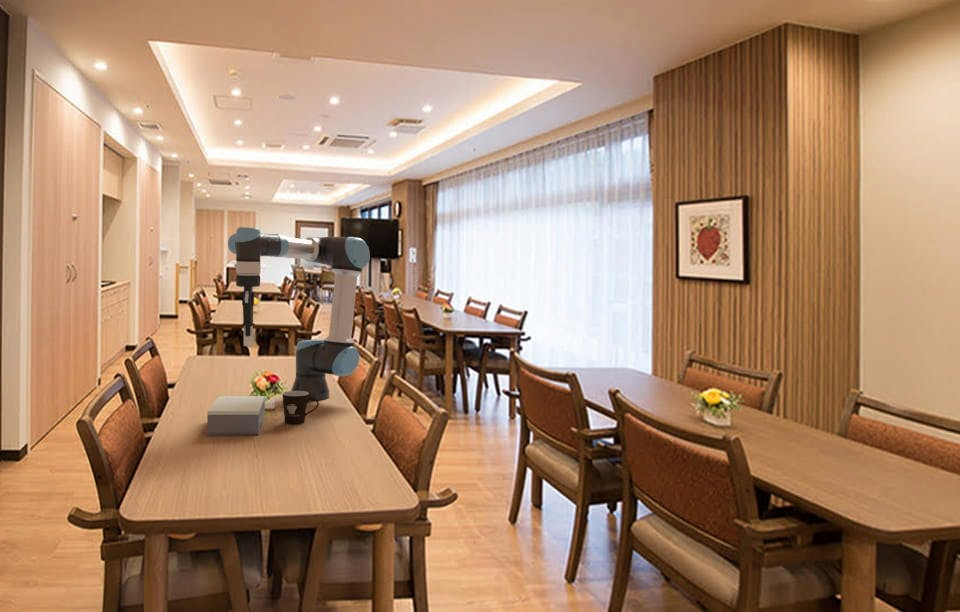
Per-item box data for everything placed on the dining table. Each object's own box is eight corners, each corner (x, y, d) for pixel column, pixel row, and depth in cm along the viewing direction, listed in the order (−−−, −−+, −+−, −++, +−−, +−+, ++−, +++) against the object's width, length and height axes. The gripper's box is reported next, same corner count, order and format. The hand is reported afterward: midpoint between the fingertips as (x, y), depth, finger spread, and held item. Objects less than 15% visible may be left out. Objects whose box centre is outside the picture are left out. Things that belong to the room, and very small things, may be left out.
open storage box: (264, 418, 229) (264, 399, 229) (258, 435, 208) (258, 415, 207) (218, 418, 226) (218, 399, 225) (207, 436, 204) (207, 415, 204)
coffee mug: (276, 422, 224) (276, 393, 223) (294, 418, 232) (295, 389, 231) (302, 428, 219) (302, 398, 218) (319, 423, 226) (320, 394, 226)
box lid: (264, 399, 229) (265, 396, 229) (258, 414, 207) (258, 410, 207) (218, 399, 225) (218, 396, 225) (207, 415, 204) (207, 411, 204)
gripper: (238, 273, 223) (238, 342, 226) (233, 275, 211) (234, 348, 213) (261, 273, 225) (261, 342, 227) (258, 275, 213) (258, 348, 215)
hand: (248, 345), depth 220 cm, fingers closed
